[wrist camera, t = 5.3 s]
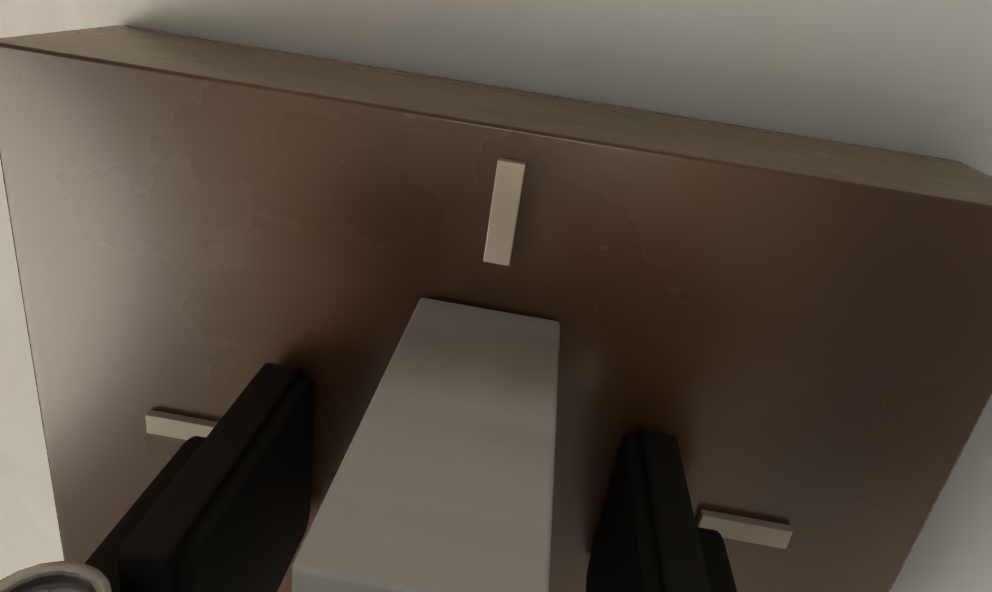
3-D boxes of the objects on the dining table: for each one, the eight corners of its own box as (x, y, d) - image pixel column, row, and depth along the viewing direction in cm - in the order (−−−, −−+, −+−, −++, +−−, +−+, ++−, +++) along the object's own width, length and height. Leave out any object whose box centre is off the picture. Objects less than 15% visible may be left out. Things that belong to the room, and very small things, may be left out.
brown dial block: (962, 162, 11) (1093, 225, 8) (758, 637, 16) (798, 782, 13) (116, 24, 12) (-31, 40, 9) (157, 525, 16) (69, 641, 14)
